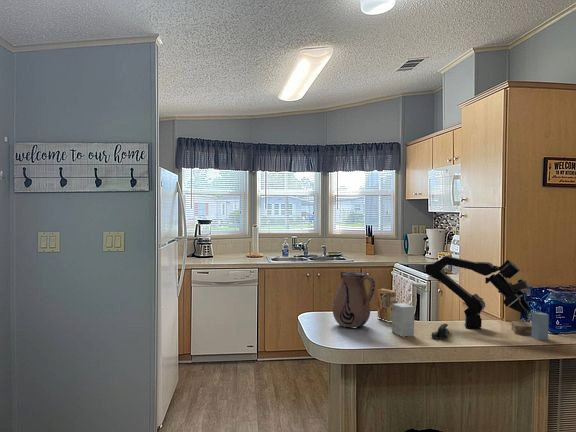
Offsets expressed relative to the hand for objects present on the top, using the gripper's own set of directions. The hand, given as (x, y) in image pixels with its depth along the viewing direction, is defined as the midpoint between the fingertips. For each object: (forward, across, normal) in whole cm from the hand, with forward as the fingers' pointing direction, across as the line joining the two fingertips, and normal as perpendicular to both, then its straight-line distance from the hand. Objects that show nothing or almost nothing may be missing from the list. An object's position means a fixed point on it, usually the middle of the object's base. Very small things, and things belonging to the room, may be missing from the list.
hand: (528, 312), depth 199 cm
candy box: (-36, -15, +50) cm, 63 cm away
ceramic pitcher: (-40, -36, +55) cm, 77 cm away
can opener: (-14, -24, +29) cm, 40 cm away
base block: (+6, +7, +10) cm, 13 cm away
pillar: (+11, 0, +4) cm, 12 cm away
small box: (-24, -33, +39) cm, 57 cm away
